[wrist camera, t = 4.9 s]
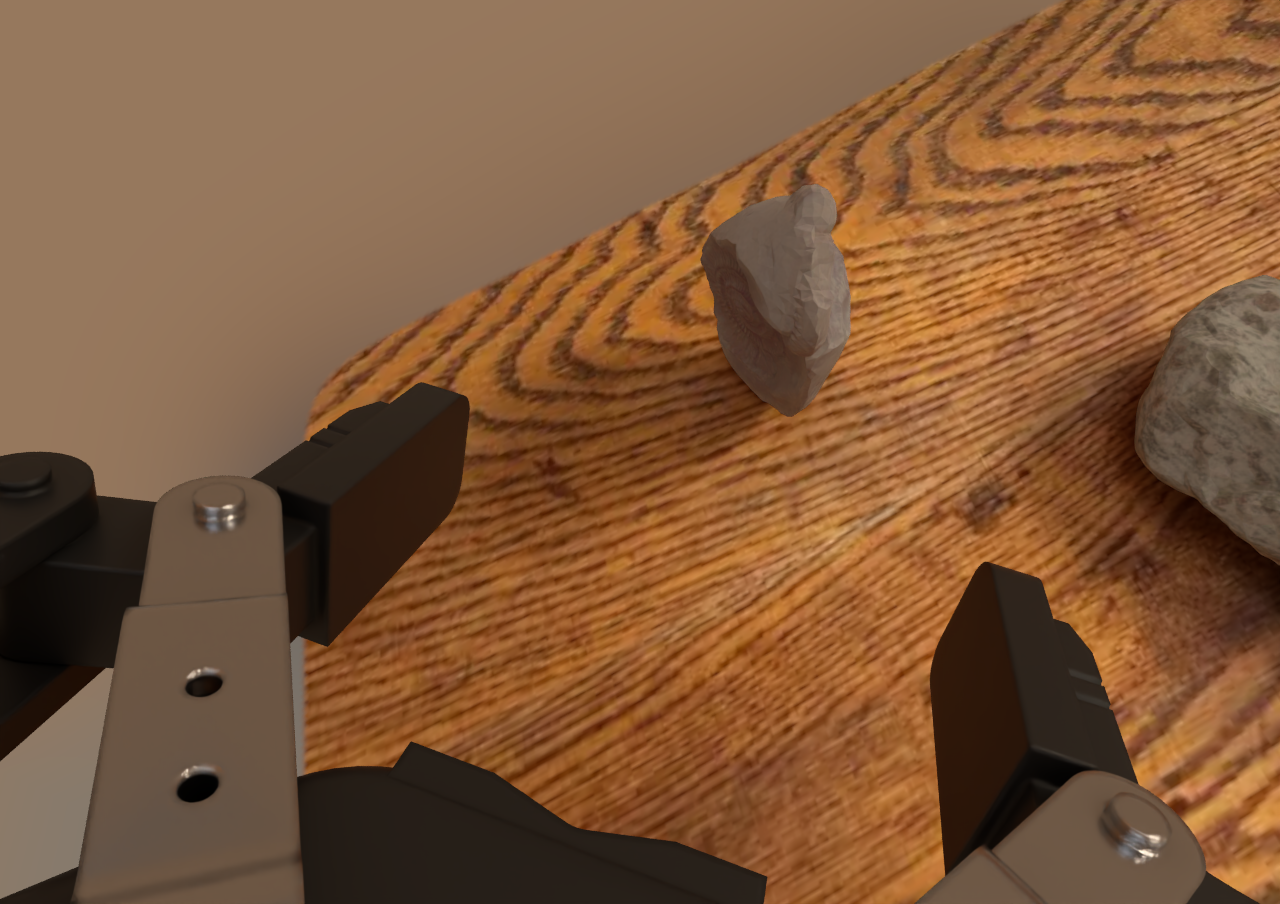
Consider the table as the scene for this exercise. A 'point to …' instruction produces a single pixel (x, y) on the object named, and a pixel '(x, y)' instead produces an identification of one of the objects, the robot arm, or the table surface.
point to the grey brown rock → (780, 295)
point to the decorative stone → (1221, 411)
